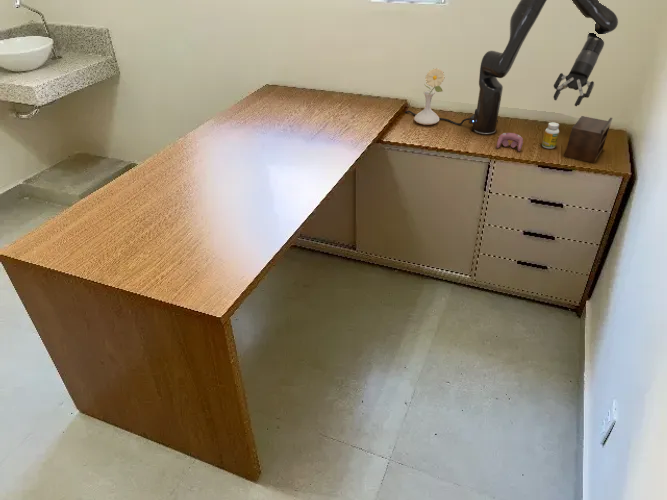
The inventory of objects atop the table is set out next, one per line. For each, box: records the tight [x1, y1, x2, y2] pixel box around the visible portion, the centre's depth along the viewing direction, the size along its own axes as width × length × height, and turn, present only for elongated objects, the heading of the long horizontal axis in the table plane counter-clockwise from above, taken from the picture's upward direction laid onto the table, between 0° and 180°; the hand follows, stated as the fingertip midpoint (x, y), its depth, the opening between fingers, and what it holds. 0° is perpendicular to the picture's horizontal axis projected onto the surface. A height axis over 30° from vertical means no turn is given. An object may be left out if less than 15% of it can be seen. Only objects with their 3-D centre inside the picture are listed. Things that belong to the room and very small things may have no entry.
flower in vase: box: [413, 67, 446, 126], centre depth 223 cm, size 13×11×25 cm
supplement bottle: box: [541, 121, 560, 150], centre depth 205 cm, size 5×5×10 cm
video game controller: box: [496, 132, 524, 153], centre depth 206 cm, size 10×5×7 cm, turn 65°
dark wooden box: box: [564, 115, 613, 164], centre depth 198 cm, size 11×14×14 cm
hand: (565, 102), depth 206 cm, fingers open, 8 cm apart
